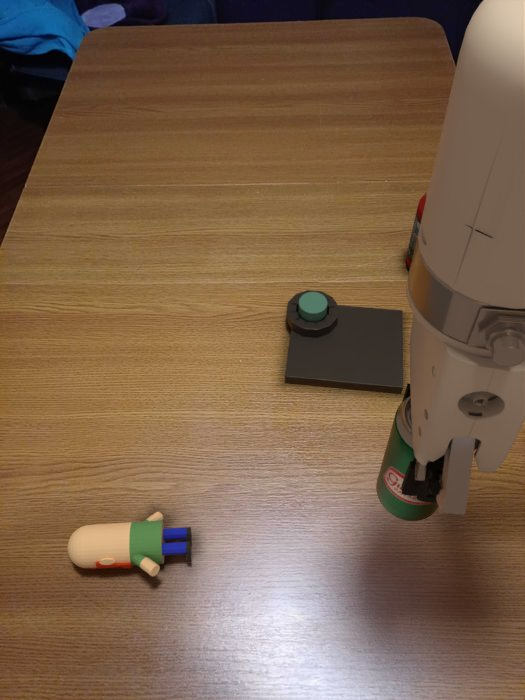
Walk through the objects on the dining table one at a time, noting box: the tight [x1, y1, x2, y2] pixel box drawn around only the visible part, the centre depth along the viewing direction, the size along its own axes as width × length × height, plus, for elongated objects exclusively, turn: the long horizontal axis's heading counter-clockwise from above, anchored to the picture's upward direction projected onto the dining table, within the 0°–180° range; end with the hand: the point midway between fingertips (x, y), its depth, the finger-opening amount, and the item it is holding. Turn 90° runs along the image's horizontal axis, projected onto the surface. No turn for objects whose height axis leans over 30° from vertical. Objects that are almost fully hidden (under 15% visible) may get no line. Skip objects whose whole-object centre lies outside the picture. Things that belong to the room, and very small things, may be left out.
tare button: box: [298, 292, 328, 322], centre depth 77 cm, size 4×4×2 cm
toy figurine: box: [66, 511, 193, 577], centre depth 61 cm, size 8×4×12 cm
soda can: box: [375, 396, 445, 522], centre depth 44 cm, size 5×5×12 cm
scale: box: [284, 289, 404, 395], centre depth 77 cm, size 15×13×3 cm
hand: (423, 452), depth 43 cm, fingers closed on soda can, 5 cm apart
